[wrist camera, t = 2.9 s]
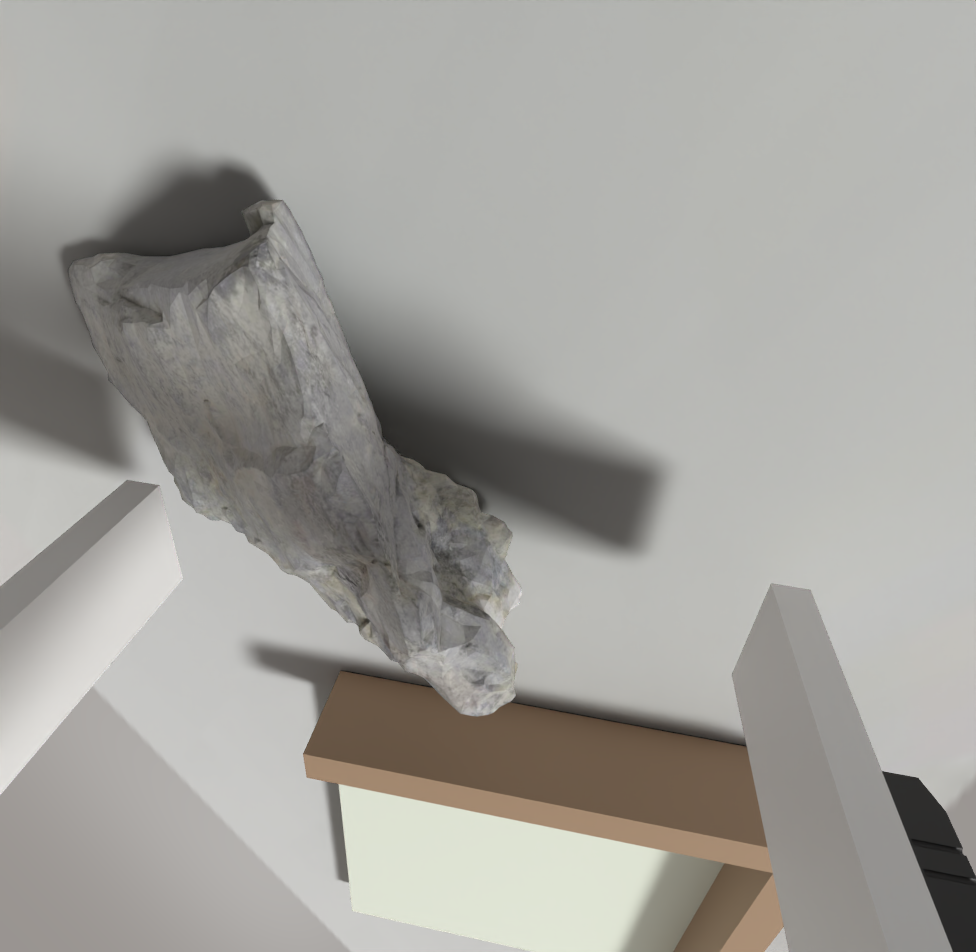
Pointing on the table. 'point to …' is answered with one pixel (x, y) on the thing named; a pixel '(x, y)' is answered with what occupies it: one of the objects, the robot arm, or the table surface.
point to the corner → (544, 825)
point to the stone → (303, 449)
